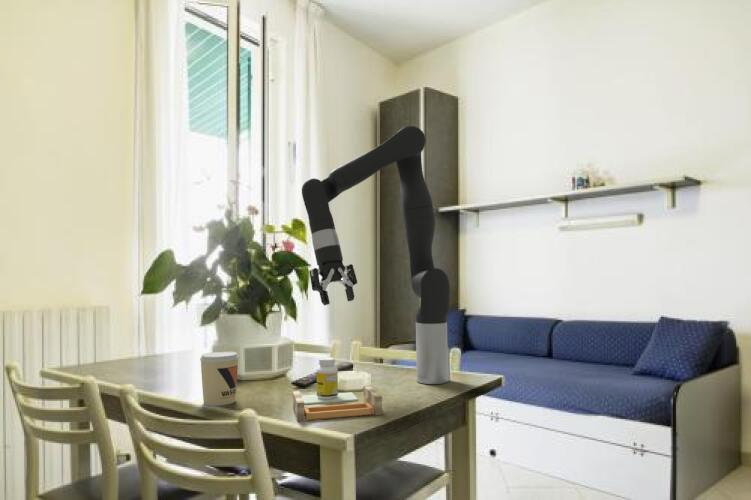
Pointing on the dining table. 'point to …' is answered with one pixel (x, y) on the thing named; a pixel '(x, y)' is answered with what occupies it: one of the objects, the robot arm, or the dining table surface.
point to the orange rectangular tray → (338, 411)
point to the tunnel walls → (369, 397)
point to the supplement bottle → (327, 379)
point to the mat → (340, 398)
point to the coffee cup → (219, 377)
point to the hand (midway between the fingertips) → (339, 302)
